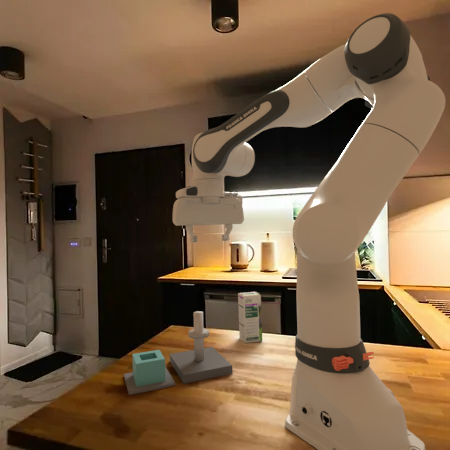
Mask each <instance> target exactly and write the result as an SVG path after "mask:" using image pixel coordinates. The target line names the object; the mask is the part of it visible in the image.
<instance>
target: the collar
mask: <svg viewBox="0 0 450 450" xmlns="http://www.w3.org/2000/svg"><path fill="white" fill-rule="evenodd" d="M165 366H166V358H165V356H164V355H163V353H162V352H161V350H160V349H155V350H150V351H143V352H136V353H132V372H133V377H134V380H135V384H136V387H138V386H143V385H148V384H153V383H158V382H163V381H166V380H165Z"/></svg>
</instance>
